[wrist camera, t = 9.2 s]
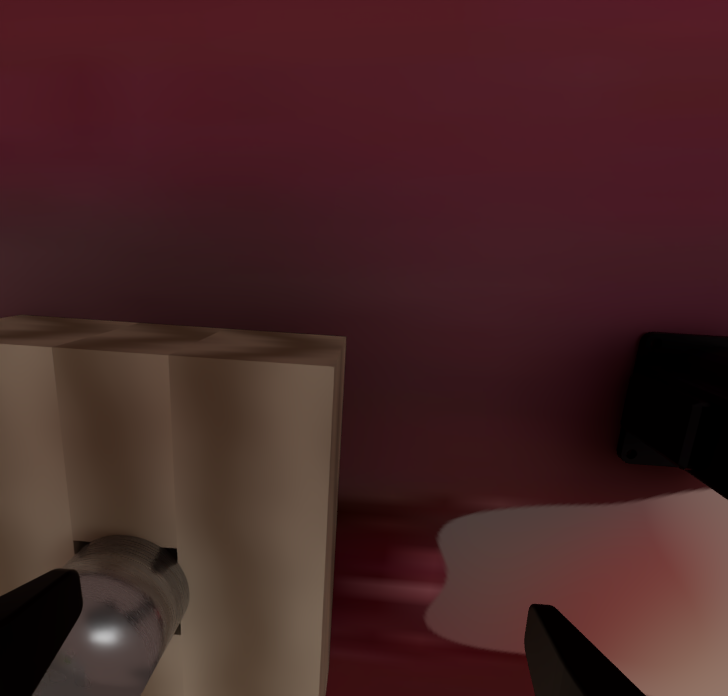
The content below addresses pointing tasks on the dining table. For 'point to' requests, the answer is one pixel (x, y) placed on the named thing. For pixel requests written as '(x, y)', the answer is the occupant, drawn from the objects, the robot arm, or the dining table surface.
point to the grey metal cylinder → (119, 618)
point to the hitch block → (184, 481)
